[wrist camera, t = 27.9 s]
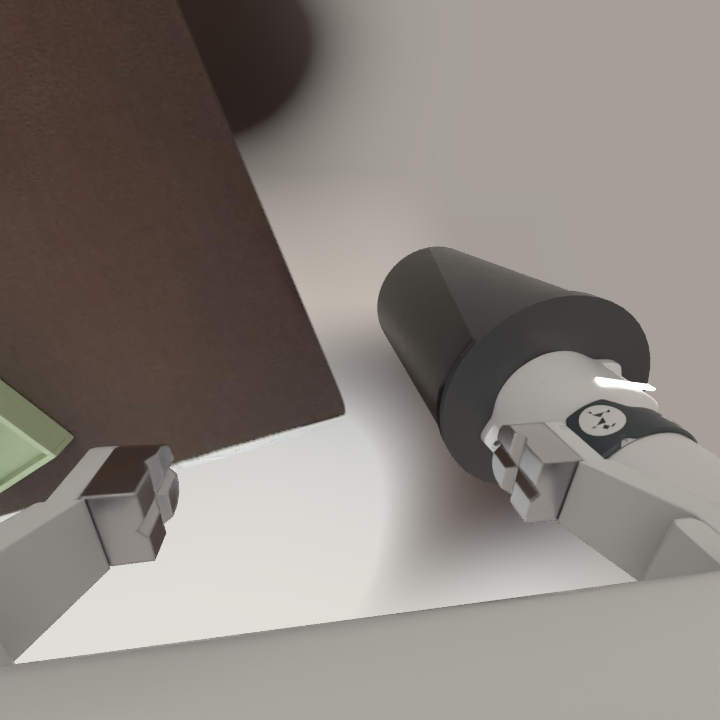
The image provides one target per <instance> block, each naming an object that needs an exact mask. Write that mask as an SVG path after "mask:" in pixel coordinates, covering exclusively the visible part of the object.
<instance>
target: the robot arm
mask: <svg viewBox="0 0 720 720" xmlns="http://www.w3.org/2000/svg"><path fill="white" fill-rule="evenodd" d="M641 389H644V390H651V391H654V390H655V388H654V387H652V386H650V385H648V384H642V383H635V382H629V381H628V380H626V379H625V378H623V377H622V375H621V366H620V365H619V364H618V363H616V362H615V361H614V360H610V359H596V360H595V359H592V358H589V357H587V356H585V355H583V354H580V353H577V352H573V351H556V352H551V353H547V354H544V355H541V356H539V357H537V358H535V359H533V360H531V361H529V362H528V363H526V364H525V365H523V366H522V367H520V368H519V369H518V370H517V371H516V372H515V373H514V374H513V375H512V376H511V377H510V378H509V379H508V380H507V381H506V383H505V384H504V386H503V387H502V389H501V390H500V392H499V394H498V396H497V399H496V402H495V405H494V410H493V414H492V417H491V419H490V420H489V422H488V423H487V425H486V426H485V428H484V429H483V431H482V433H481V440H482V441H483V442H484V443H485V444H486V445H487V447H488V448H489V449H490V450H491V451H492V452H493V459H492V468H493V474H494V477H495V479H496V481H497V483H498V484H499V486H500V487H501V489H503V490H505V491H507V492H508V493H510V494H511V499H510V502H511V504H512V505H513V507H514V508H515V510H516V511H517V513H518V514H519V515H520V517H521V518H522V520H523V521H524V523H533V522H546V521H558V523H559V524H560V525H562V526H563V527H564V528H566V529H567V530H568V531H570V532H571V533H573V534H574V535H576V536H577V537H578V538H580V539H581V540H583V541H584V542H585V543H586V544H588V545H589V546H591V547H592V548H593V549H595V550H596V551H597V552H599V553H600V554H602V555H603V556H604V557H606V558H607V559H609V560H610V561H611V562H613V563H614V564H616V565H617V566H618V567H620V568H621V569H622V570H624V571H625V572H627V573H628V574H629V575H631V576H632V577H634V578H635V579H636V580H638V581H636V582H629V583H622V584H614V585H606V586H599V587H591V588H584V589H577V590H569V591H562V592H554V593H546V594H539V595H532V596H525V597H517V598H509V599H503V600H494V601H488V602H480V603H472V604H465V605H458V606H450V607H442V608H435V609H427V610H420V611H412V612H404V613H397V614H389V615H382V616H374V617H367V618H360V619H352V620H344V621H337V622H329V623H322V624H314V625H306V626H299V627H291V628H284V629H277V630H269V631H261V632H254V633H246V634H239V635H231V636H224V637H216V638H209V639H202V640H194V641H186V642H179V643H172V644H164V645H156V646H150V647H141V648H134V649H126V650H119V651H111V652H105V653H96V654H89V655H81V656H74V657H66V658H59V659H51V660H44V661H36V662H29V663H21V664H15V663H14V661H15V660H16V659H17V658H18V657H19V656H20V655H21V654H22V653H23V652H24V651H25V650H26V649H27V648H28V647H29V646H30V645H32V644H33V643H34V642H35V640H37V639H38V638H39V637H40V636H41V635H42V634H43V633H44V632H45V631H46V630H47V629H48V628H49V627H50V626H51V625H52V624H53V623H54V622H55V621H56V620H57V619H59V618H60V617H61V616H62V615H63V614H64V613H65V612H66V611H67V610H68V609H69V608H70V607H71V606H72V605H73V604H74V603H75V602H76V601H77V600H78V599H79V598H80V597H81V596H82V595H83V594H84V593H85V592H86V591H88V590H89V589H90V588H91V587H92V586H93V585H94V584H95V583H96V582H97V581H98V580H99V579H100V578H101V577H102V576H103V575H104V574H105V573H106V572H107V571H108V570H109V569H110V567H109V566H117V565H124V564H132V563H139V562H148V561H155V559H156V556H157V554H158V552H159V549H160V547H161V545H162V542H163V540H164V537H165V535H166V530H165V527H164V523H165V522H167V521H168V520H169V519H170V518H171V517H173V515H174V512H175V510H176V507H177V503H178V497H179V481H178V476H177V474H176V473H175V472H174V471H173V470H171V469H170V468H169V467H170V465H171V463H172V461H173V455H172V451H171V448H170V447H169V446H168V445H167V444H158V445H131V446H110V447H96V448H93V449H90V450H89V451H88V452H87V453H86V454H85V456H84V457H83V458H82V459H81V460H80V461H79V463H78V464H77V465H76V466H75V467H74V469H73V470H72V471H71V472H70V473H69V474H68V476H67V477H66V478H65V479H64V480H63V482H62V483H61V484H60V485H59V486H58V487H57V489H56V490H55V491H54V492H53V493H52V495H51V496H50V497H49V498H48V499H47V500H46V502H40V503H35V504H33V505H32V506H30V507H28V508H26V509H25V510H23V511H21V512H19V513H17V514H16V515H14V516H12V517H10V518H9V519H7V520H5V521H3V522H1V523H0V720H720V457H718V456H717V455H715V454H713V453H712V452H710V451H708V450H707V449H705V448H704V447H702V446H700V445H699V444H698V443H697V441H696V439H695V438H694V437H693V436H692V435H691V434H690V433H688V432H687V431H686V430H684V429H683V428H682V427H681V426H680V425H679V424H677V423H676V422H674V421H673V420H671V419H669V418H667V417H664V416H663V415H661V414H659V411H658V403H657V401H656V400H655V399H653V398H652V397H651V396H649V395H648V394H646V393H645V392H644V391H642V390H641ZM495 441H496V442H495Z"/></svg>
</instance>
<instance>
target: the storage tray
mask: <svg viewBox="0 0 720 720" xmlns="http://www.w3.org/2000/svg"><path fill="white" fill-rule="evenodd" d="M73 438H74V436H73V435H72V434H70V433H69V432H68V431H66V430H65V429H64V428H62V427H61V426H60V425H59V424H57V423H56V422H55V421H53V420H52V419H51V418H50V417H48V416H47V415H46V414H44V413H43V412H42V411H41V410H39V409H38V408H37V407H35V406H34V405H33V404H32V403H30V402H29V401H28V400H26V399H25V398H24V397H23V396H21V395H20V394H19V393H17V392H16V391H15V390H14V389H12V388H11V387H10V386H8V385H7V384H6V383H5V382H3V381H2V380H1V379H0V493H1V492H2V491H4V490H5V489H7V488H9V487H10V486H12V485H13V484H15V483H16V482H18V481H19V480H21V479H22V478H24V477H26V476H27V475H29V474H30V473H32V472H33V471H35V470H36V469H38V468H39V467H41V466H43V465H44V464H46V463H47V462H49V461H50V460H52V459H53V458H55V457H56V456H57V455H58V454H59V453H60V452H61V451H62V450H63V449H64V448H65V447H66V446H67V445H68V444H69V443H70V442H71V441H72V440H73Z"/></svg>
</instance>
